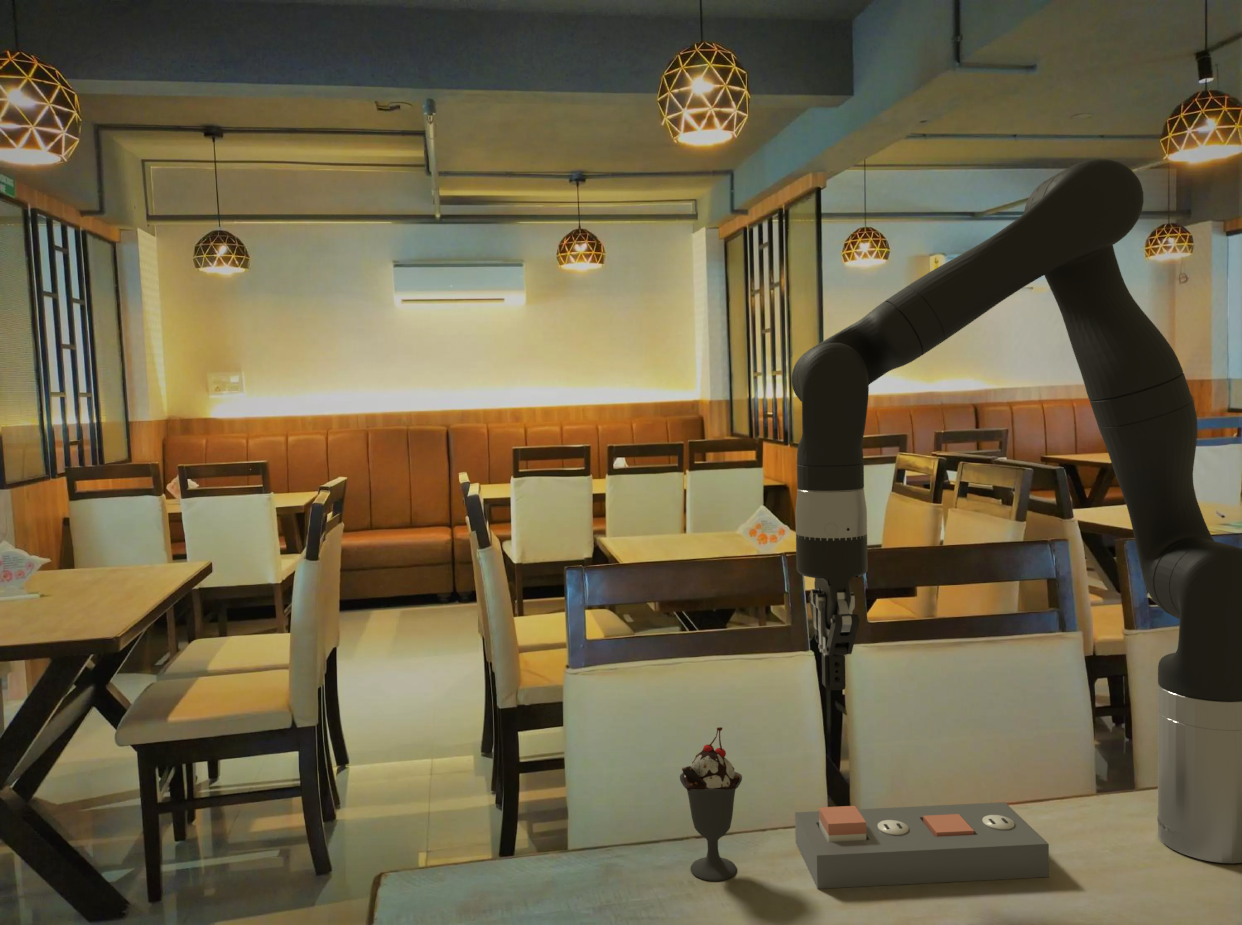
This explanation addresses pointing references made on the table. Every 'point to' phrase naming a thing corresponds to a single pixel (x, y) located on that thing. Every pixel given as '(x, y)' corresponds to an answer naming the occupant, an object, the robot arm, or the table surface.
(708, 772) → the sundae
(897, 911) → the table surface
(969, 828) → the switch
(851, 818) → the switch
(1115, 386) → the robot arm
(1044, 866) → the power strip
